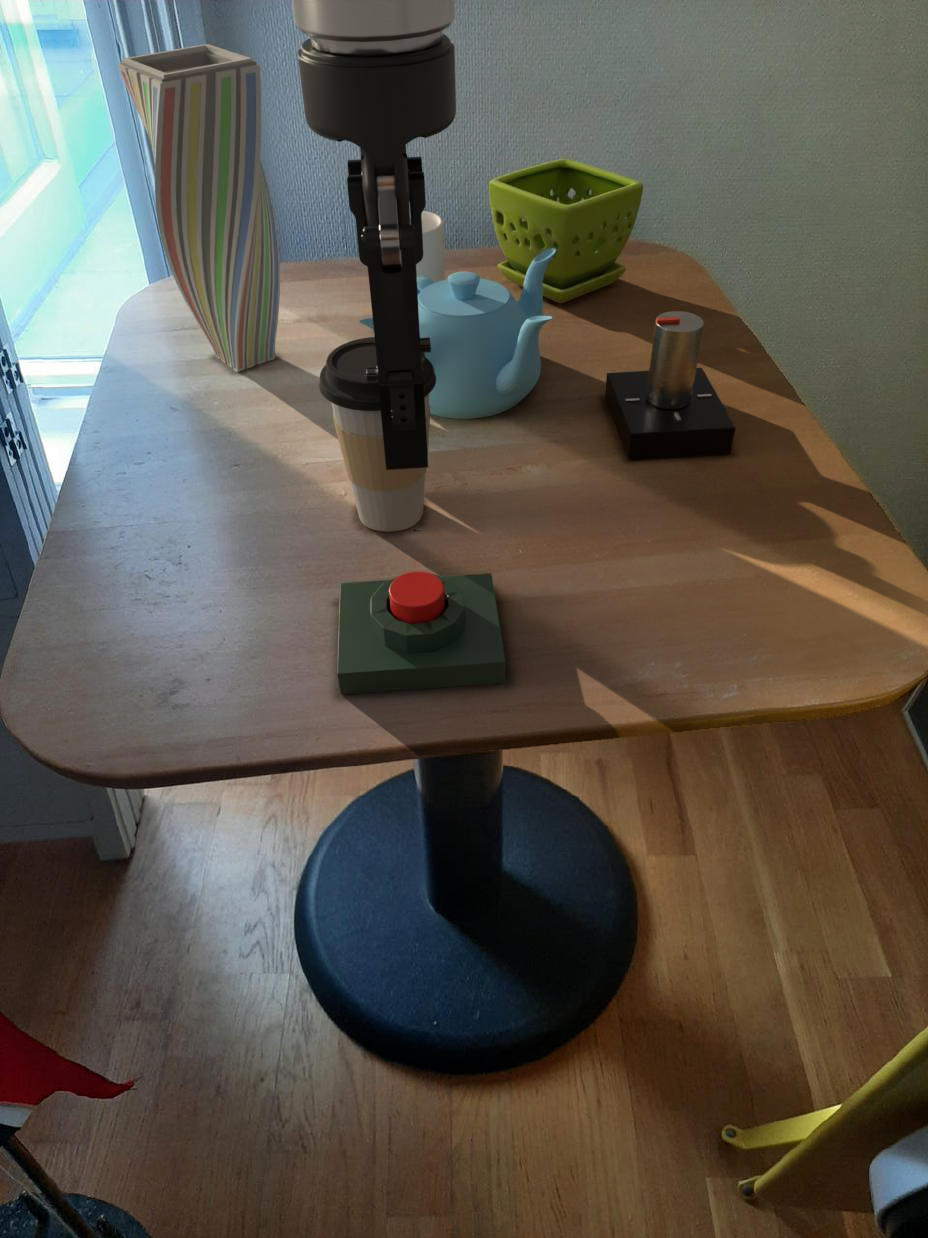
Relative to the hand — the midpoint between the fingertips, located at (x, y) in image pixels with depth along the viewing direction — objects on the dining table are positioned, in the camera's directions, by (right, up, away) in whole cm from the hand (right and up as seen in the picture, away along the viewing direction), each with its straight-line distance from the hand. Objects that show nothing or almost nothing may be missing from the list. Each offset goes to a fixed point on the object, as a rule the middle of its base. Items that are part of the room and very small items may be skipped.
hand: (406, 458), depth 60 cm
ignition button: (0, -9, +9) cm, 13 cm away
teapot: (+4, +14, +39) cm, 42 cm away
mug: (-3, +26, +53) cm, 59 cm away
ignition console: (0, -12, +11) cm, 16 cm away
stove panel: (+24, +9, +34) cm, 42 cm away
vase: (-21, +20, +47) cm, 55 cm away
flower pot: (+16, +33, +60) cm, 70 cm away
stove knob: (+24, +11, +31) cm, 41 cm away
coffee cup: (-3, -1, +24) cm, 24 cm away
